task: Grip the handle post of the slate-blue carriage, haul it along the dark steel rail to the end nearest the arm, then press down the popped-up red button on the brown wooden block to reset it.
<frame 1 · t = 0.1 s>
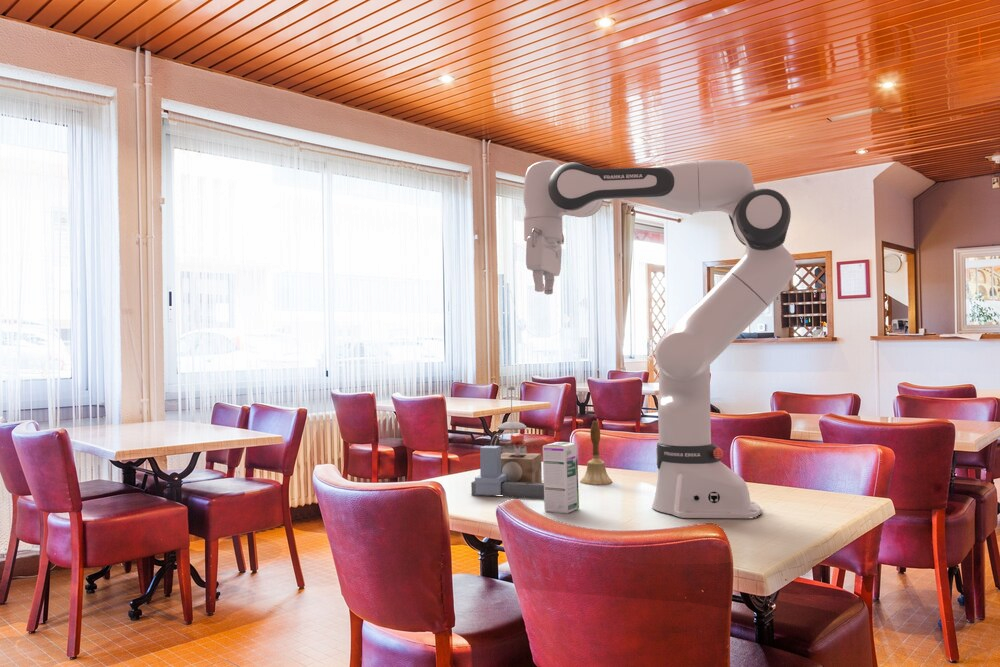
hand: (544, 293, 172), 48 cm above the table, fingers open, 8 cm apart
gauge button: (517, 451, 190), point 9 cm above the table, slide at 0.0 cm
carriage: (490, 469, 181), point 6 cm above the table, slide at 12.0 cm
french press: (510, 478, 205), on the table
hand bell: (596, 482, 196), on the table
brown wooden block: (517, 487, 190), on the table
rail: (515, 495, 180), on the table
syrup box: (561, 511, 163), on the table
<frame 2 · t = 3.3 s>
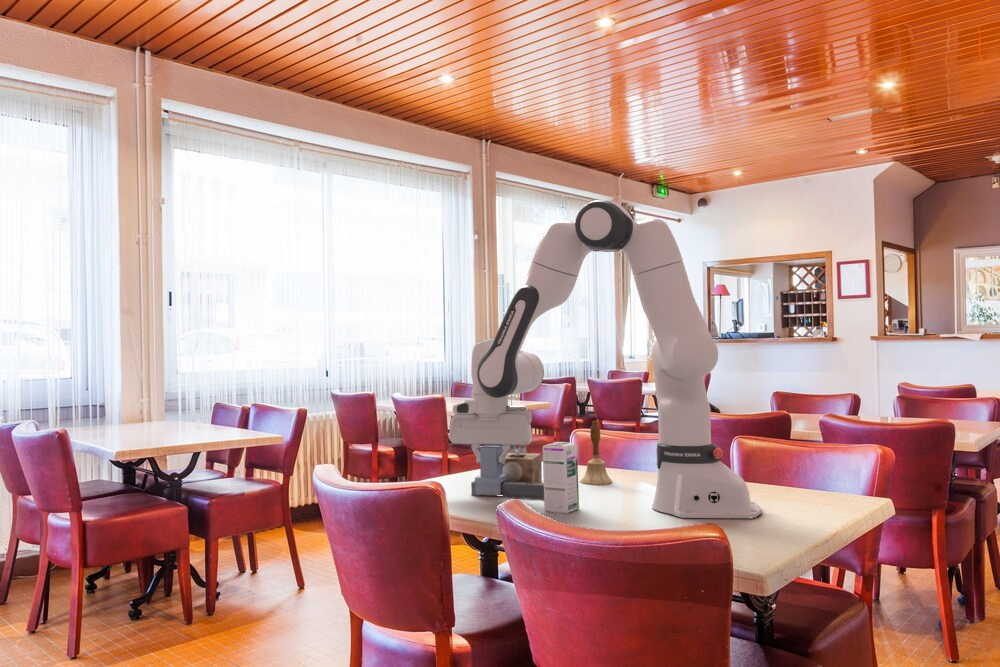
hand: (490, 463, 181), 8 cm above the table, fingers closed on carriage, 4 cm apart
carriage: (490, 469, 181), point 6 cm above the table, slide at 12.0 cm, touching gripper
everything else where it was.
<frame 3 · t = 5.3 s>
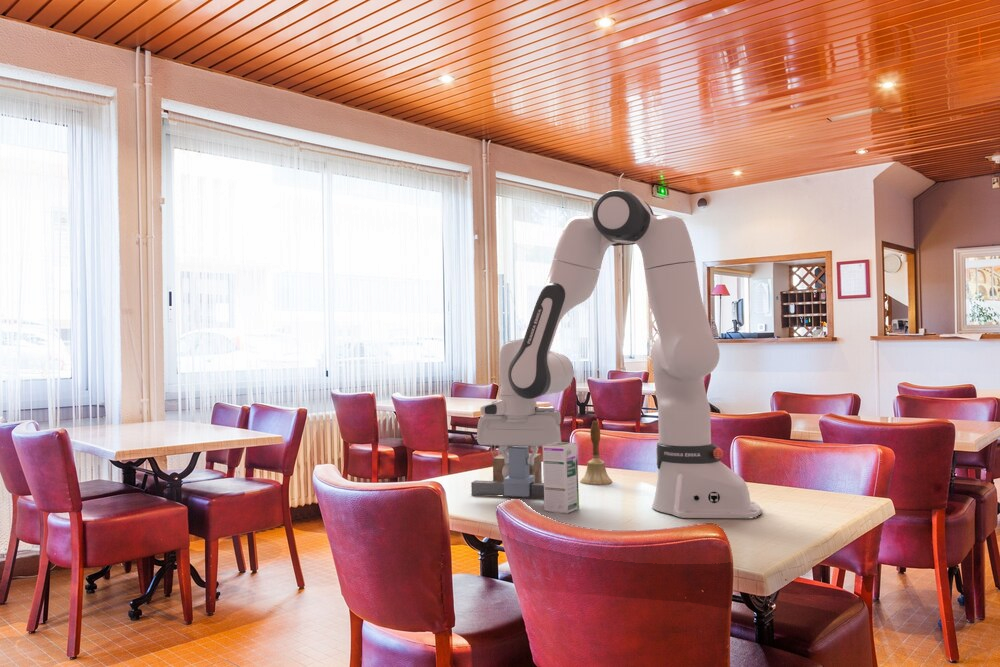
hand: (519, 464, 180), 7 cm above the table, fingers closed on carriage, 4 cm apart
carriage: (519, 470, 179), point 6 cm above the table, slide at 4.9 cm, touching gripper
everything else where it was.
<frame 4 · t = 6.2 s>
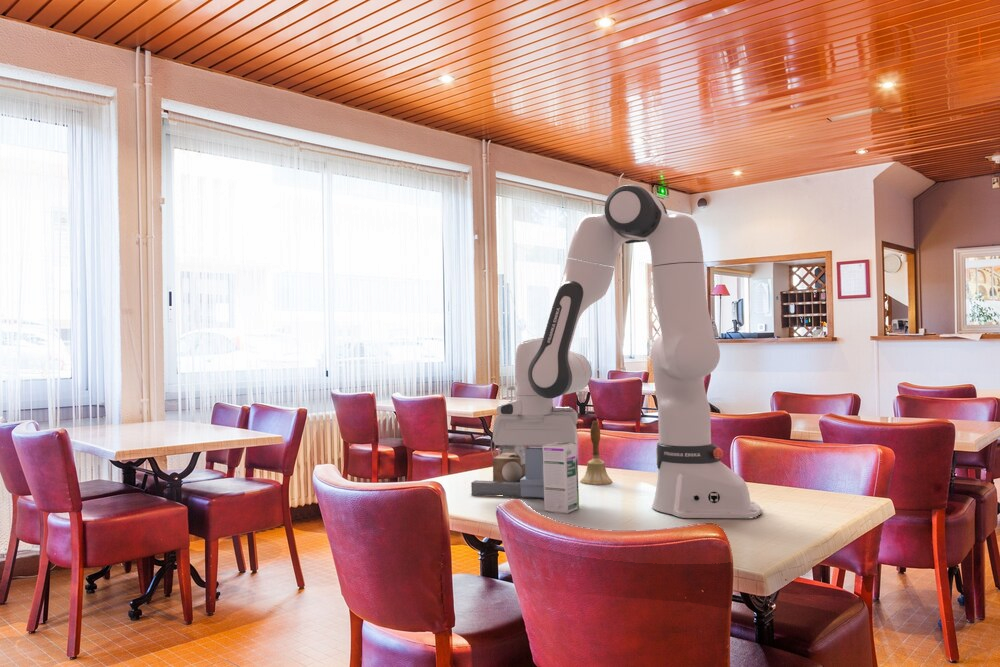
hand: (535, 464, 178), 7 cm above the table, fingers closed on carriage, 4 cm apart
carriage: (535, 471, 178), point 6 cm above the table, slide at 0.9 cm, touching gripper
everything else where it was.
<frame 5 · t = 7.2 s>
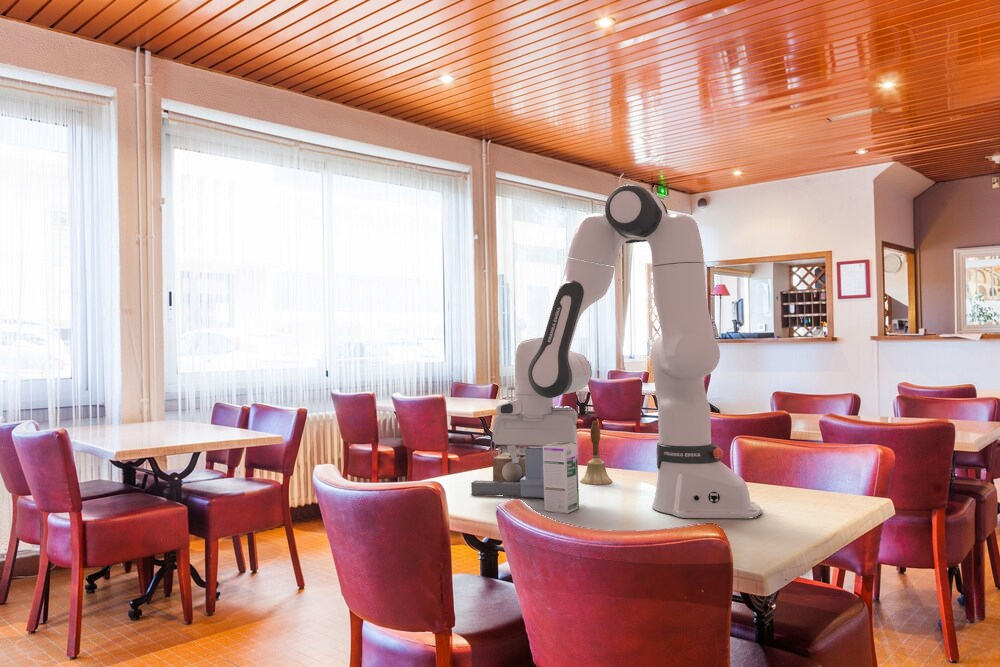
hand: (535, 464, 178), 8 cm above the table, fingers open, 8 cm apart
carriage: (535, 471, 178), point 6 cm above the table, slide at 0.8 cm
everything else where it was.
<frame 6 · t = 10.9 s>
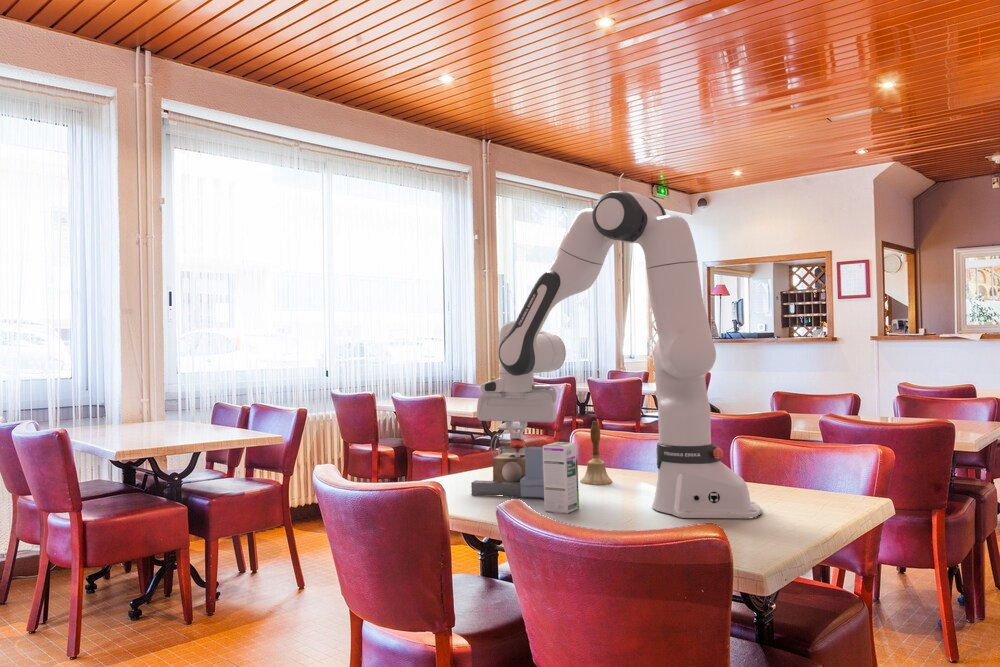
hand: (516, 439, 190), 12 cm above the table, fingers closed, pressing on gauge button
gauge button: (517, 455, 190), point 8 cm above the table, slide at 1.1 cm, touching gripper
everything else where it was.
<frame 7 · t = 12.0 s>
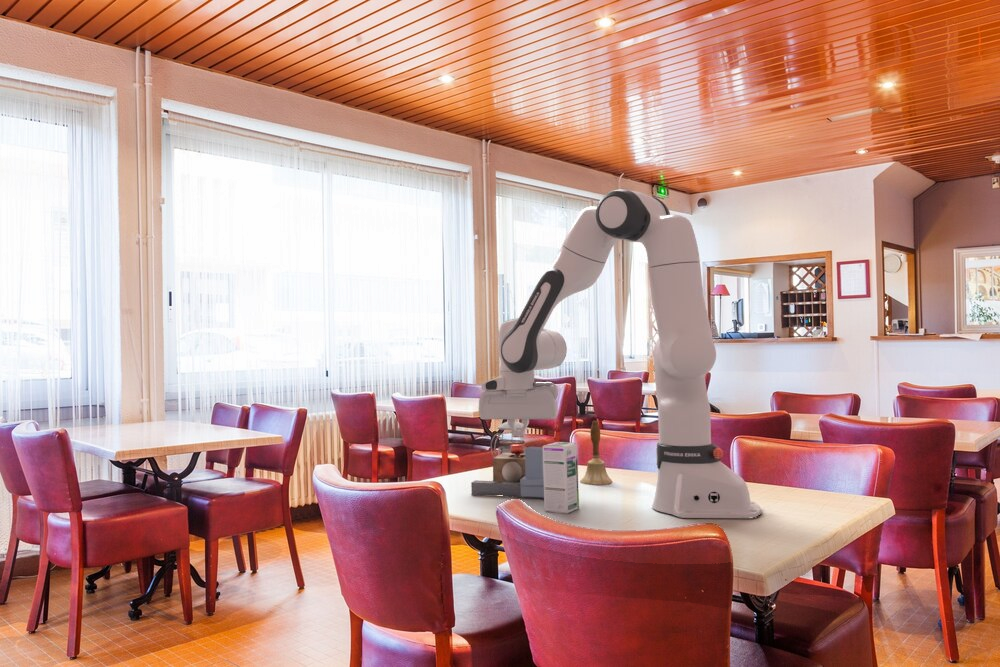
hand: (518, 437, 190), 13 cm above the table, fingers closed
gauge button: (517, 460, 190), point 7 cm above the table, slide at 2.4 cm
everything else where it was.
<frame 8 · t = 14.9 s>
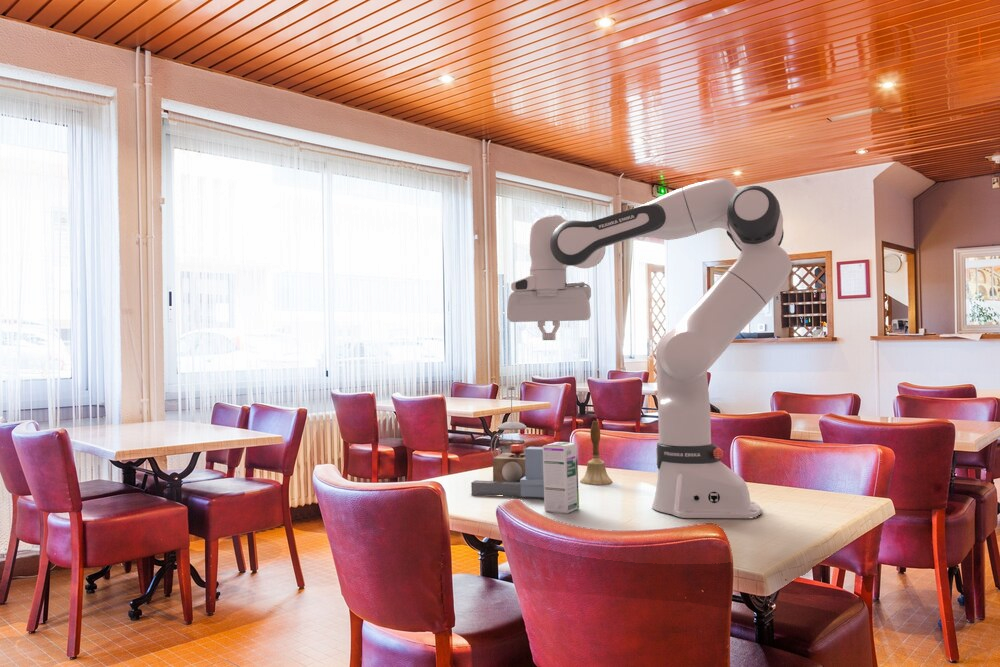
hand: (549, 340, 182), 37 cm above the table, fingers closed
nothing on the table moved.
at the end: carriage slide at 0.8 cm; gauge button slide at 2.4 cm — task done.
